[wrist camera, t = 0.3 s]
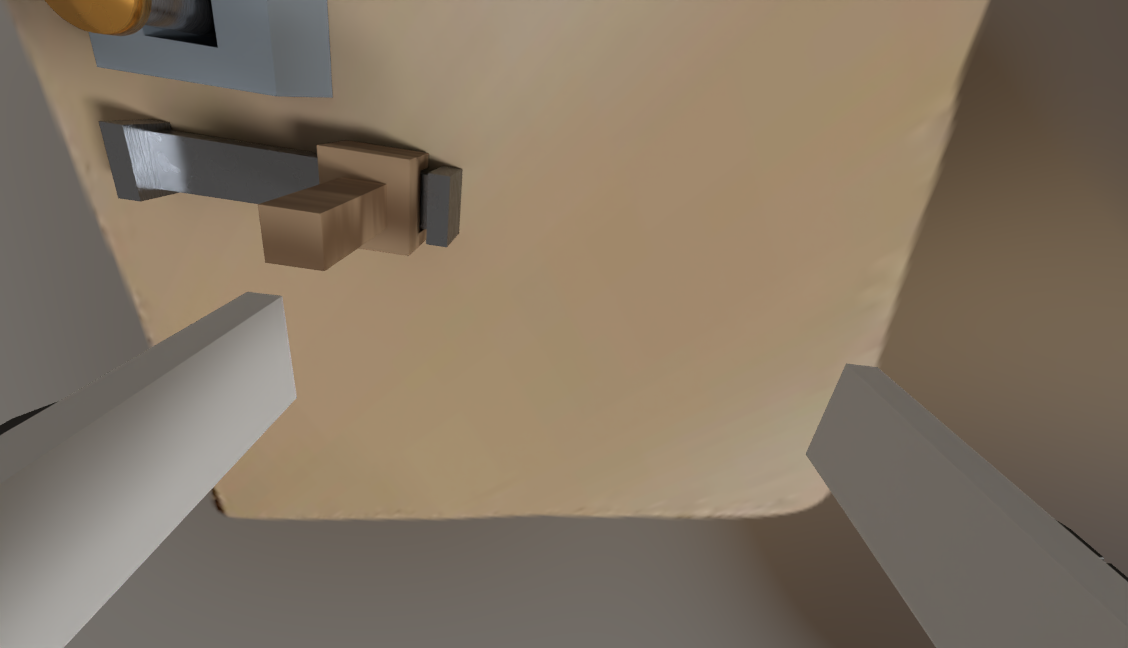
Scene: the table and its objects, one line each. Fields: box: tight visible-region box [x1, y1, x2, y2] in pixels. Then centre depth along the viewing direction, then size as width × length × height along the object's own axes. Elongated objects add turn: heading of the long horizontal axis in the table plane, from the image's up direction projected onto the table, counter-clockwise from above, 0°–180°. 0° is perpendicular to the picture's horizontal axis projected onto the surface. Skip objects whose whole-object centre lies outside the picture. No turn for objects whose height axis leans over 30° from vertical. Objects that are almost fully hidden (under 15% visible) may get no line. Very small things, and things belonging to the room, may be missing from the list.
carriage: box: [258, 140, 429, 271], centre depth 30 cm, size 7×6×14 cm
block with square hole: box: [89, 0, 333, 98], centre depth 28 cm, size 8×10×7 cm
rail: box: [99, 119, 462, 247], centre depth 34 cm, size 5×23×4 cm, turn 81°
